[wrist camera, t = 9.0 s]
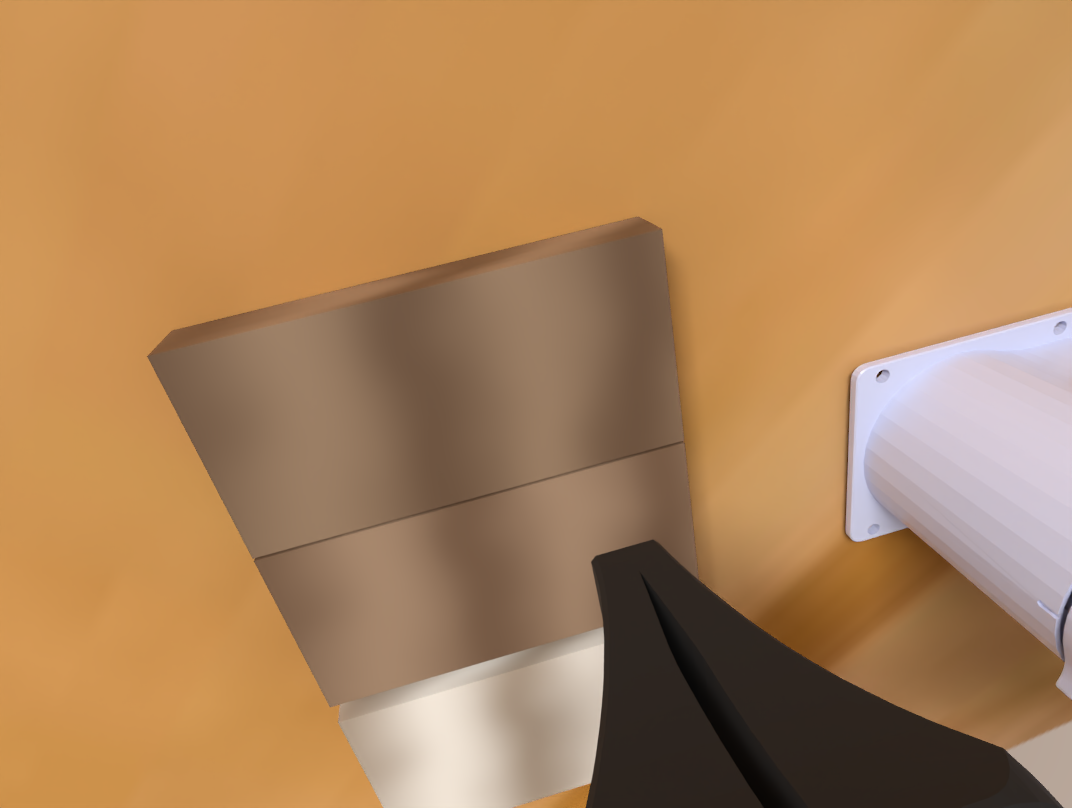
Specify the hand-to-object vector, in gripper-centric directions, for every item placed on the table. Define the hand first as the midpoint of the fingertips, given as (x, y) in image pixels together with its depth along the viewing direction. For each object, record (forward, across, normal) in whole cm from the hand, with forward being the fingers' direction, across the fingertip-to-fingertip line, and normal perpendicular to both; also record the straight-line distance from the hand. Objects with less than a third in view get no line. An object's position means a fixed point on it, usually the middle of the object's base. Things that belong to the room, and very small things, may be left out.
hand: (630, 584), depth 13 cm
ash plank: (+9, +3, +14) cm, 17 cm away
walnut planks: (+9, +3, +2) cm, 10 cm away
